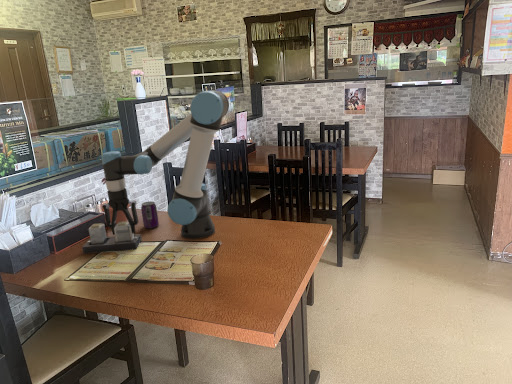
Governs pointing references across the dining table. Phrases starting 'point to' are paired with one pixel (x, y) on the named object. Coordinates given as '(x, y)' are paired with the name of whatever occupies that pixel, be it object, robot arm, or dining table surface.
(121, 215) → the decorative flower
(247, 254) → the dining table surface
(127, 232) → the block
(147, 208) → the beverage can
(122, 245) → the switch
